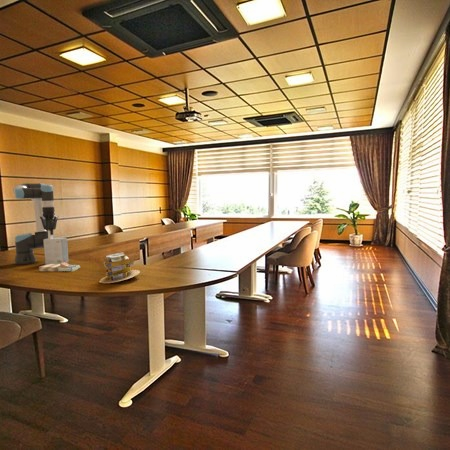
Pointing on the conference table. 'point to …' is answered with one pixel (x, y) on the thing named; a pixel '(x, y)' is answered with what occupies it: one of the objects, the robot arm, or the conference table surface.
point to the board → (49, 267)
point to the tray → (69, 269)
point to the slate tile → (70, 266)
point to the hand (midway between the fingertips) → (50, 239)
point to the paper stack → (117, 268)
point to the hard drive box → (56, 251)
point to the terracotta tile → (64, 265)
